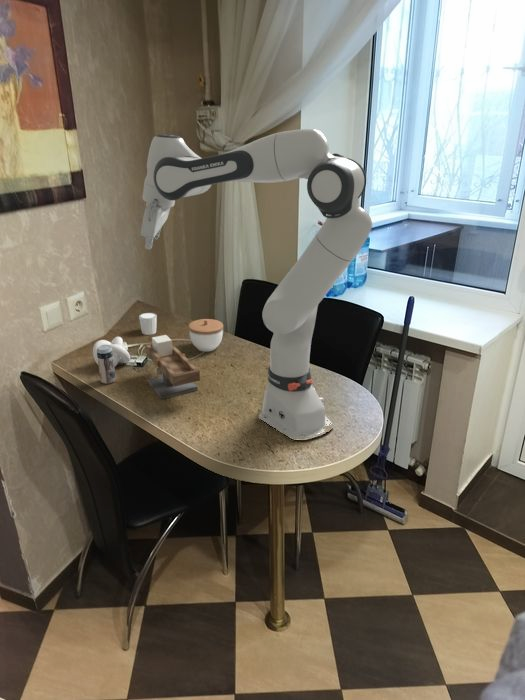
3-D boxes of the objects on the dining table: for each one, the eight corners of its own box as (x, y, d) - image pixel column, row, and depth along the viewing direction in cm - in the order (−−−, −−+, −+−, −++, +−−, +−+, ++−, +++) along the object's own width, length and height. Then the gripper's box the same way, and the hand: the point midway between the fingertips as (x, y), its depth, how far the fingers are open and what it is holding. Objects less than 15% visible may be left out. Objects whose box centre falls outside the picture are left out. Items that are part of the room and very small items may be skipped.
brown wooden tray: (206, 399, 152) (205, 369, 148) (169, 409, 147) (167, 378, 142) (175, 366, 172) (174, 338, 167) (141, 374, 166) (139, 345, 162)
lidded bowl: (182, 346, 187) (181, 318, 182) (210, 338, 195) (209, 311, 190) (202, 357, 179) (201, 329, 174) (230, 348, 186) (230, 321, 182)
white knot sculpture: (103, 376, 164) (100, 351, 160) (88, 363, 172) (84, 339, 169) (134, 366, 171) (132, 342, 167) (118, 354, 179) (115, 331, 175)
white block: (172, 354, 161) (171, 340, 158) (158, 357, 158) (157, 343, 156) (167, 348, 164) (166, 334, 162) (153, 351, 162) (151, 337, 160)
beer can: (111, 385, 159) (107, 351, 154) (97, 383, 160) (93, 349, 155) (118, 378, 163) (114, 345, 158) (104, 376, 164) (100, 343, 159)
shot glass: (152, 327, 203) (151, 311, 200) (161, 332, 198) (159, 316, 195) (137, 331, 199) (135, 314, 196) (145, 336, 194) (144, 320, 191)
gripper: (163, 207, 128) (155, 257, 135) (176, 191, 146) (169, 236, 153) (139, 201, 127) (132, 252, 134) (155, 185, 145) (148, 230, 152)
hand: (151, 243), depth 143 cm, fingers open, 8 cm apart
